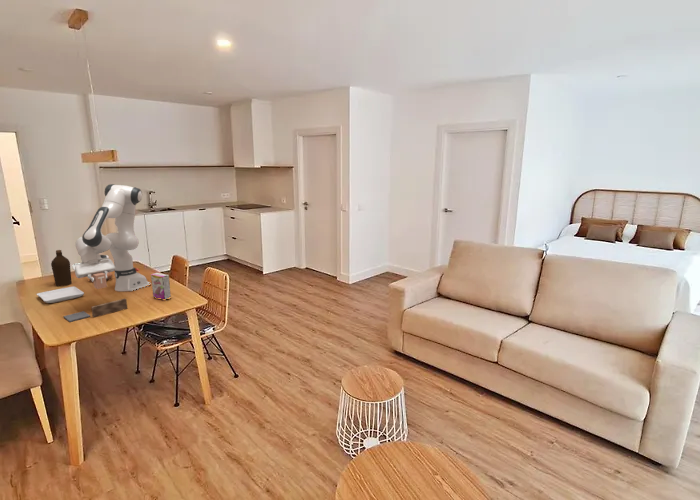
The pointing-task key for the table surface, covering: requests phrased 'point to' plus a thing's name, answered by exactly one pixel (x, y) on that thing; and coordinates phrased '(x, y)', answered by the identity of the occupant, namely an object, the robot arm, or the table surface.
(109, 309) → the walnut screen
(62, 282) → the olive oil
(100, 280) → the pink block
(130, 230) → the robot arm
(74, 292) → the salad plate
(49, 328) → the table surface
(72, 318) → the charcoal mat
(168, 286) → the candy bar box
